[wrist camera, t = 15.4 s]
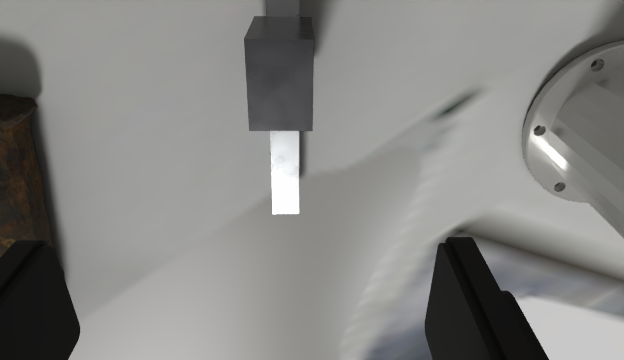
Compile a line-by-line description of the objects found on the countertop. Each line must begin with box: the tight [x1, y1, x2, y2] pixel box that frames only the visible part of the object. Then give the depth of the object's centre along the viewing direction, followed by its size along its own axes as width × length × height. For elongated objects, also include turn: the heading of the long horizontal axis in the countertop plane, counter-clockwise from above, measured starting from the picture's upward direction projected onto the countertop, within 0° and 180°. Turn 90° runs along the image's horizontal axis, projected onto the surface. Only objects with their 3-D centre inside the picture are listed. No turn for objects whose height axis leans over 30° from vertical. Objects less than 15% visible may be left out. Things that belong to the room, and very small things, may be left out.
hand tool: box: [0, 94, 64, 276], centre depth 36 cm, size 23×5×6 cm, turn 172°
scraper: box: [244, 0, 314, 214], centre depth 28 cm, size 4×24×8 cm, turn 179°
